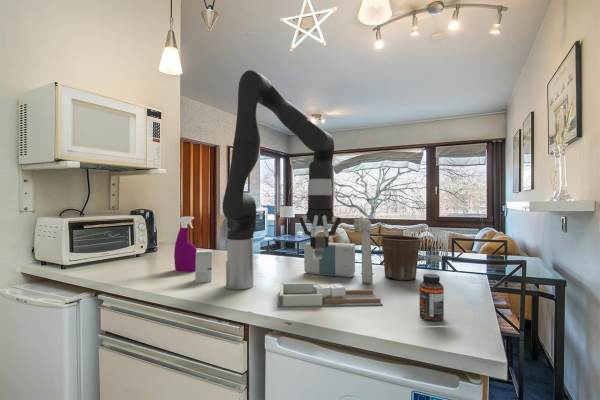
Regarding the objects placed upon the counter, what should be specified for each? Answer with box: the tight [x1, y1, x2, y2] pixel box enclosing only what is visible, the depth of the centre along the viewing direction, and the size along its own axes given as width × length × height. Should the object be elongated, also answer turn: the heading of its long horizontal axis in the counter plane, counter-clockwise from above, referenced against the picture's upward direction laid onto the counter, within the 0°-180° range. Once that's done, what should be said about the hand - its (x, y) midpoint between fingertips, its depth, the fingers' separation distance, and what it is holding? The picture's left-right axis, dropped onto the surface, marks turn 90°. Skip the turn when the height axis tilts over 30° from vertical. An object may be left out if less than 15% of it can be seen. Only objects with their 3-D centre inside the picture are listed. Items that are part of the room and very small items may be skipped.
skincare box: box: [194, 249, 214, 283], centre depth 120 cm, size 6×4×12 cm
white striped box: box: [303, 227, 356, 278], centre depth 132 cm, size 21×8×20 cm, turn 67°
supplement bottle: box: [418, 273, 445, 322], centre depth 83 cm, size 6×6×11 cm
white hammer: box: [353, 216, 374, 285], centre depth 119 cm, size 5×7×25 cm
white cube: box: [312, 283, 331, 301], centre depth 98 cm, size 4×4×4 cm
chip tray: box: [279, 282, 322, 306], centre depth 99 cm, size 12×14×3 cm
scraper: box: [313, 236, 326, 260], centre depth 101 cm, size 3×6×11 cm
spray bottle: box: [173, 215, 198, 273], centre depth 136 cm, size 3×11×24 cm, turn 74°
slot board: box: [277, 289, 384, 308], centre depth 99 cm, size 31×14×1 cm, turn 93°
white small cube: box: [327, 283, 346, 298], centre depth 98 cm, size 4×4×4 cm
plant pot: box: [379, 235, 423, 281], centre depth 128 cm, size 16×16×16 cm
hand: (319, 248), depth 99 cm, fingers closed on scraper, 3 cm apart
